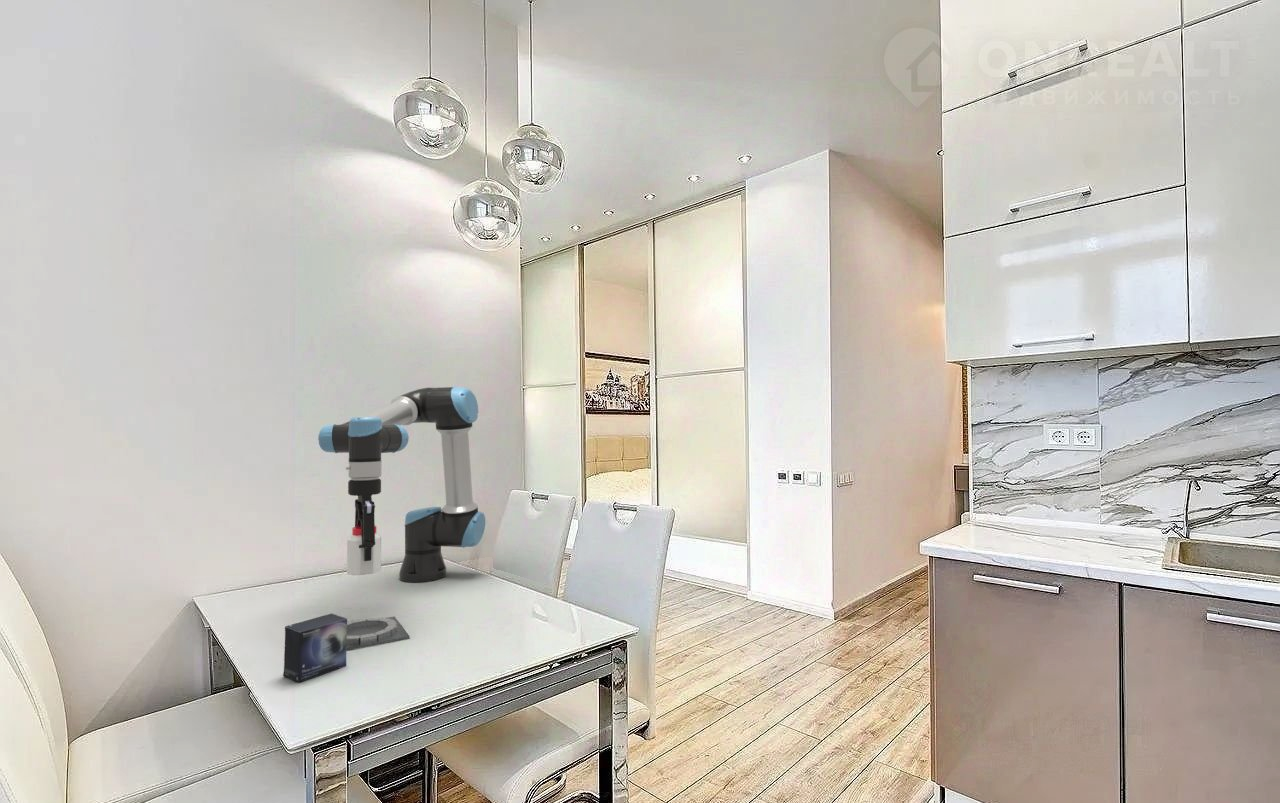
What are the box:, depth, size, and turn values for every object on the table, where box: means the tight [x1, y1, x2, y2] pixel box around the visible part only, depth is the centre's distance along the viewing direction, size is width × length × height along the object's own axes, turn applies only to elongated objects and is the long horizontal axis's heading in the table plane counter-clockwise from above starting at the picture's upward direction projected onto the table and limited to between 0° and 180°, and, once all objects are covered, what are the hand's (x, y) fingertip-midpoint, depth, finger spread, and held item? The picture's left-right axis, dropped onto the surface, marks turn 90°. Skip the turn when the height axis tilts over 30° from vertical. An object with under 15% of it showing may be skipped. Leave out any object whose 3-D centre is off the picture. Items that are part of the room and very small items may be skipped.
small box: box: [282, 613, 348, 683], centre depth 129 cm, size 11×6×10 cm, turn 148°
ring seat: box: [346, 615, 411, 652], centre depth 151 cm, size 18×18×2 cm
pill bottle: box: [346, 525, 382, 576], centre depth 151 cm, size 8×8×11 cm
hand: (364, 570), depth 151 cm, fingers closed on pill bottle, 8 cm apart
